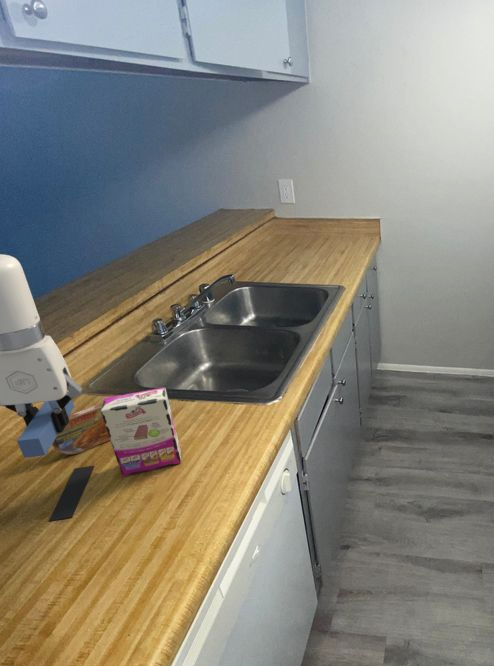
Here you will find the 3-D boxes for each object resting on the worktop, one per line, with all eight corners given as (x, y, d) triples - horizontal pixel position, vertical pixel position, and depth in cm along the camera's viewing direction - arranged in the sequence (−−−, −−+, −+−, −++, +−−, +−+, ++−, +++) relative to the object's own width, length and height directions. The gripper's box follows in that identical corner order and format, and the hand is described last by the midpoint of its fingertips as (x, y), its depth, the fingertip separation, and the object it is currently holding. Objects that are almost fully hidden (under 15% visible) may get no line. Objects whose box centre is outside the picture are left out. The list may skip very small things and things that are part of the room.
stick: (24, 458, 76) (16, 440, 74) (56, 408, 88) (50, 393, 86) (45, 455, 77) (38, 438, 75) (74, 407, 89) (69, 391, 87)
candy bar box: (181, 449, 103) (166, 385, 95) (181, 463, 99) (166, 398, 91) (123, 462, 99) (102, 396, 91) (121, 477, 95) (99, 410, 87)
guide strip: (48, 521, 85) (48, 520, 85) (74, 469, 97) (74, 468, 96) (71, 517, 86) (71, 517, 85) (94, 466, 97) (94, 465, 97)
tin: (59, 461, 98) (46, 429, 94) (54, 454, 100) (42, 422, 96) (135, 430, 108) (126, 399, 104) (130, 424, 110) (121, 394, 106)
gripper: (-63, 350, 69) (-16, 449, 77) (65, 341, 73) (97, 436, 81) (-35, 328, 75) (5, 422, 83) (81, 321, 79) (109, 411, 87)
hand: (50, 428), depth 82 cm, fingers closed on stick, 3 cm apart
